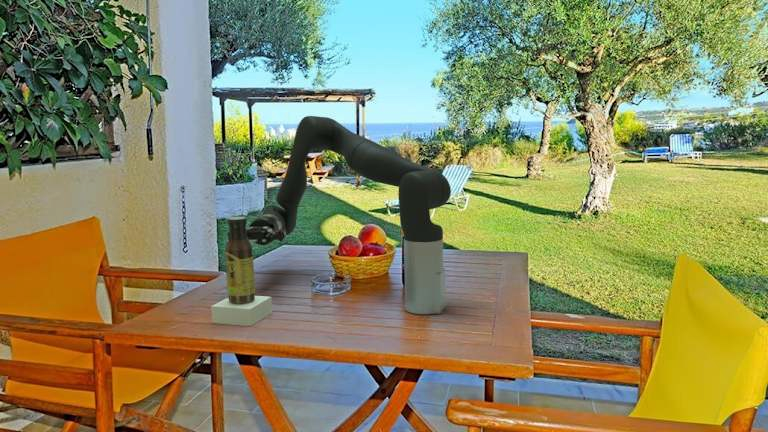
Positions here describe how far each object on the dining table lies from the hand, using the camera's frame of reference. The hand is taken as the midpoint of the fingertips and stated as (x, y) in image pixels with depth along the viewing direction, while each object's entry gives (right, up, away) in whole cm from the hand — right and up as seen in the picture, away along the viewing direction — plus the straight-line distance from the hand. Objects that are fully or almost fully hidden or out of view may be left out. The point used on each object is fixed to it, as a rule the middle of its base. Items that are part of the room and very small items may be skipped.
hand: (250, 240), depth 146 cm
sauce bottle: (0, -14, -8) cm, 16 cm away
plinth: (0, -18, -8) cm, 20 cm away
